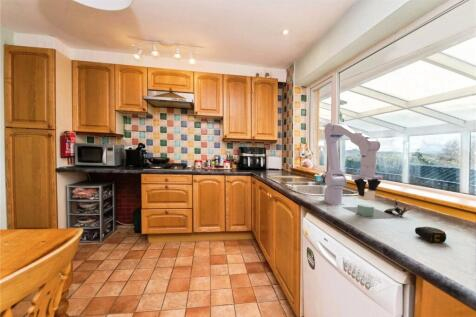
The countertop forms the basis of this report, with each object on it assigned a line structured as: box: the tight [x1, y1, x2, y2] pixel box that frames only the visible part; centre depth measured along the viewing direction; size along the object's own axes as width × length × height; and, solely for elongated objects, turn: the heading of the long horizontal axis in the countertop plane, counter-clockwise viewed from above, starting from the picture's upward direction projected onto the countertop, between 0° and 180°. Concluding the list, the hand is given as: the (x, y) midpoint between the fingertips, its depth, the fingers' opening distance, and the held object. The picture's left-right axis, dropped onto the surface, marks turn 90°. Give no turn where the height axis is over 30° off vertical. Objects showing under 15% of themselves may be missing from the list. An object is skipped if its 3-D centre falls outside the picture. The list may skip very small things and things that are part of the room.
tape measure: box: [414, 226, 447, 243], centre depth 71 cm, size 7×7×4 cm
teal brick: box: [356, 204, 375, 217], centre depth 97 cm, size 4×4×4 cm
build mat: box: [341, 206, 401, 220], centre depth 101 cm, size 18×16×1 cm
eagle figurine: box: [384, 198, 412, 218], centre depth 100 cm, size 8×8×10 cm
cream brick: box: [357, 188, 376, 201], centre depth 96 cm, size 4×4×4 cm
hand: (366, 195), depth 97 cm, fingers closed on cream brick, 4 cm apart
